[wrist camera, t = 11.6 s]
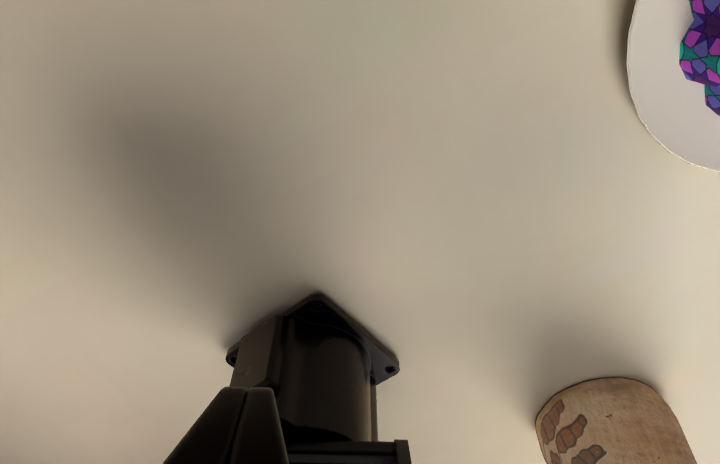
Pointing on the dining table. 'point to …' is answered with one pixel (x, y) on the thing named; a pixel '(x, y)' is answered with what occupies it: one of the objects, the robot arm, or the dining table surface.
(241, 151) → the dining table surface
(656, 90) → the pudding
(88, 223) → the dining table surface
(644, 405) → the figurine
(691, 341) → the dining table surface
